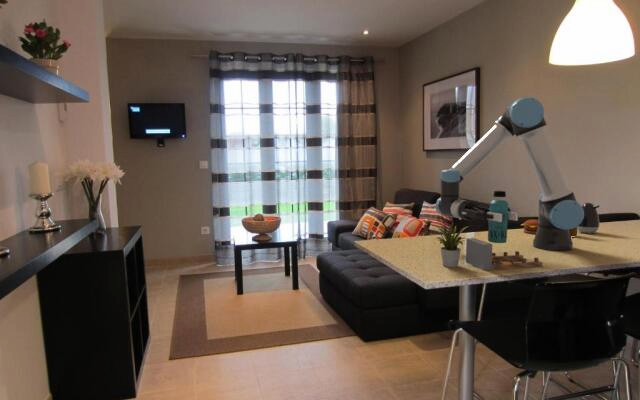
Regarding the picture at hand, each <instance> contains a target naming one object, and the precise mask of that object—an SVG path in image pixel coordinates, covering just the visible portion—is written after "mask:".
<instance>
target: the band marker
mask: <svg viewBox="0 0 640 400" xmlns="http://www.w3.org/2000/svg"><path fill="white" fill-rule="evenodd" d="M492 258H494V256H493V255H492ZM501 264H503V265H509V264H511V262H509V261H501Z"/></svg>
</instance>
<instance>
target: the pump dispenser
mask: <svg viewBox="0 0 640 400" xmlns="http://www.w3.org/2000/svg"><path fill="white" fill-rule="evenodd" d="M581 206H582V208H583V210H584V218H583V220H582V222H581V223H580V224H579V225H578V226H577V232H580V233H581V232H584V233H583V234H586V233H592V234H595V233H596V232H597V231H598V230H599V228H600V218H599V213H598V210H597V209H599V208H600V205H599V204H598V205H594V204H593V203H591V202H585V203H583V204H582V205H581Z"/></svg>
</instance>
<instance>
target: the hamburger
mask: <svg viewBox="0 0 640 400" xmlns="http://www.w3.org/2000/svg"><path fill="white" fill-rule="evenodd" d="M520 226H523V228H524V230H523V233H524V234H527V235H536V233H537V230H538V220H537V219H528V220H526V221H525V222H524V221H523V223H522V224H520Z"/></svg>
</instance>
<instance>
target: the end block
mask: <svg viewBox="0 0 640 400" xmlns="http://www.w3.org/2000/svg"><path fill="white" fill-rule="evenodd" d="M465 239H466V240H465V242H466V243H465V245H466V246H465V263H466V264H469V265H471V266H474V267H475V268H478V269H480V270H483V271H491V270H492V264H493V263H492V253H493V243H491V242H490V243H489V242H487V241H483V240H480V239H479V238H475V237H470V238H468V237H465Z"/></svg>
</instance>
